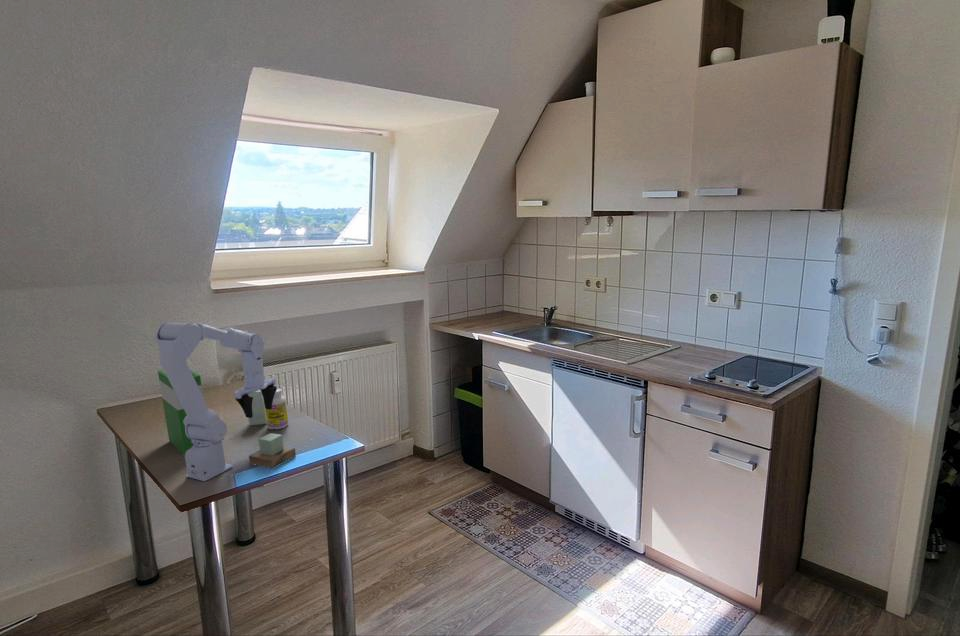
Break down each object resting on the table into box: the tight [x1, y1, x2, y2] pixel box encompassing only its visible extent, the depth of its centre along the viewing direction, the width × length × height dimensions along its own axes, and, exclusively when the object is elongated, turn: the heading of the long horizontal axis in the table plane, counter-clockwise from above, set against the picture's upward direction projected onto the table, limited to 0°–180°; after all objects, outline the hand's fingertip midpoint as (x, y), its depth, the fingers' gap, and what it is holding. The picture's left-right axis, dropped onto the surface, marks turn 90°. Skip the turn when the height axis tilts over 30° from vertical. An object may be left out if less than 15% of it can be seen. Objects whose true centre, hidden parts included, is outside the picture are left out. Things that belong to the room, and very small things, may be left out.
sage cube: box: [258, 432, 284, 455], centre depth 162 cm, size 4×4×4 cm
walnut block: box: [248, 445, 297, 469], centre depth 162 cm, size 9×9×3 cm
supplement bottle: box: [265, 387, 289, 430], centre depth 187 cm, size 7×7×13 cm
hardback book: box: [157, 369, 204, 457], centre depth 174 cm, size 18×7×24 cm, turn 43°
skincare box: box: [248, 390, 267, 426], centre depth 191 cm, size 6×4×12 cm
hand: (259, 413), depth 173 cm, fingers open, 7 cm apart
